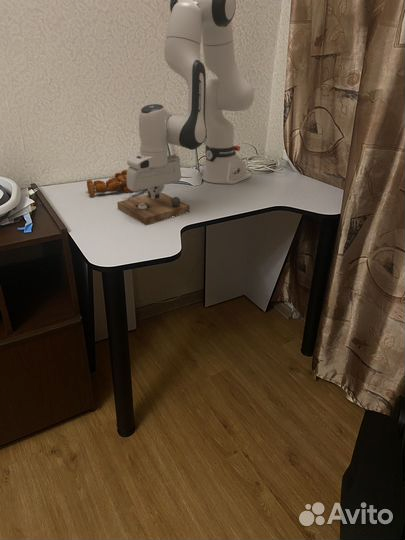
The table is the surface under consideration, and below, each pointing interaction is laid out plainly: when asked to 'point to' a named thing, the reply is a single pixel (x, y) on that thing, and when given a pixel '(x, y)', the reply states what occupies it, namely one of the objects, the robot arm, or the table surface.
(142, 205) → the steel ball
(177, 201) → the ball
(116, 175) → the toy
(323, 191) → the table surface
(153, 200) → the wooden board with hole
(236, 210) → the table surface
